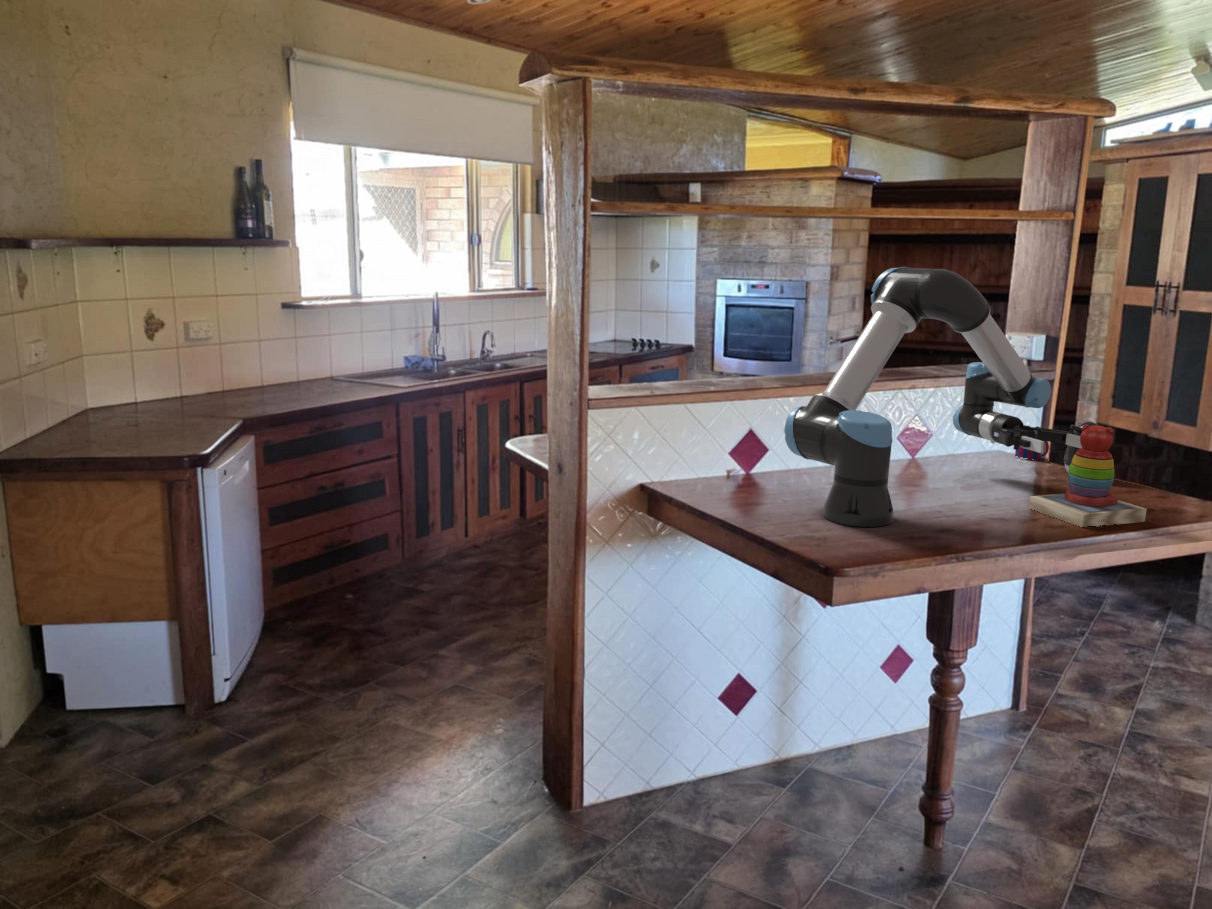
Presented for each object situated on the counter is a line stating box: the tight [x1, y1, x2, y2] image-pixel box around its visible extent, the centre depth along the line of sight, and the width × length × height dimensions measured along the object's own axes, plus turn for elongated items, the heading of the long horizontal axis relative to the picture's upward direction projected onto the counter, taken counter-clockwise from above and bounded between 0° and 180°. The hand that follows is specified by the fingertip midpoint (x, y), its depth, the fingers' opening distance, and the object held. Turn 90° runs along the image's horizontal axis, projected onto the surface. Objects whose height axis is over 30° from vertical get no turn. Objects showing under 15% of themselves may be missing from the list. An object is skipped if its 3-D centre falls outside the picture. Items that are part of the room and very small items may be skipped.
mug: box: [1014, 437, 1050, 461], centre depth 278 cm, size 7×10×7 cm
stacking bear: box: [1064, 424, 1119, 507], centre depth 218 cm, size 11×10×18 cm
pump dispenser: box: [1063, 421, 1099, 474], centre depth 256 cm, size 10×10×15 cm
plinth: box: [1028, 493, 1147, 528], centre depth 220 cm, size 18×16×3 cm
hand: (1065, 445), depth 225 cm, fingers open, 13 cm apart
